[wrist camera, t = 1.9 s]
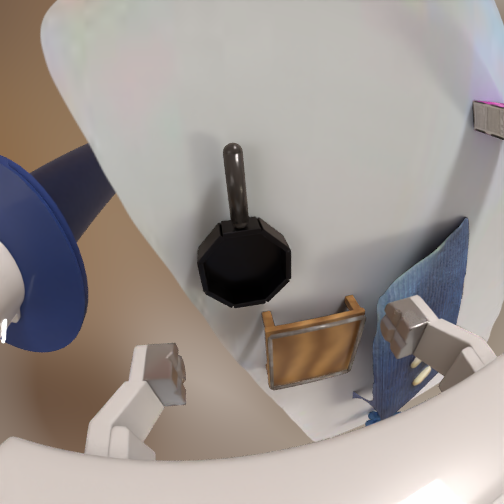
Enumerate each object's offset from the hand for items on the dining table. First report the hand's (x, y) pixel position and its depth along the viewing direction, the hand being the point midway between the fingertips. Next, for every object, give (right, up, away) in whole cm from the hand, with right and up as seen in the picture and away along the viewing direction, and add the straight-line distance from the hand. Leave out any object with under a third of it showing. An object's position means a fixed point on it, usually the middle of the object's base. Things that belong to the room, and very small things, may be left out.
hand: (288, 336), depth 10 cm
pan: (-3, +6, +21) cm, 22 cm away
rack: (+7, -10, +32) cm, 34 cm away
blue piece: (+30, -12, +38) cm, 50 cm away
